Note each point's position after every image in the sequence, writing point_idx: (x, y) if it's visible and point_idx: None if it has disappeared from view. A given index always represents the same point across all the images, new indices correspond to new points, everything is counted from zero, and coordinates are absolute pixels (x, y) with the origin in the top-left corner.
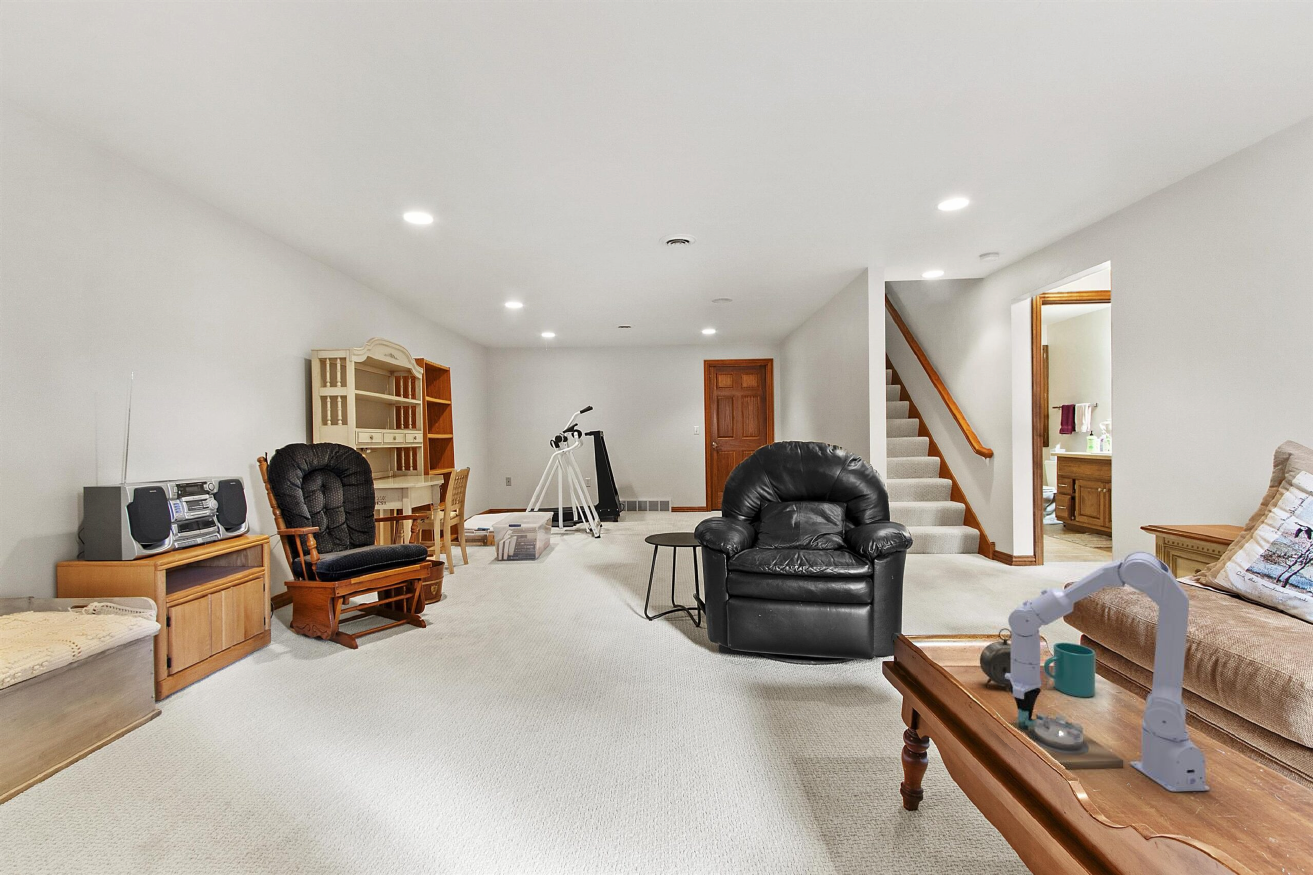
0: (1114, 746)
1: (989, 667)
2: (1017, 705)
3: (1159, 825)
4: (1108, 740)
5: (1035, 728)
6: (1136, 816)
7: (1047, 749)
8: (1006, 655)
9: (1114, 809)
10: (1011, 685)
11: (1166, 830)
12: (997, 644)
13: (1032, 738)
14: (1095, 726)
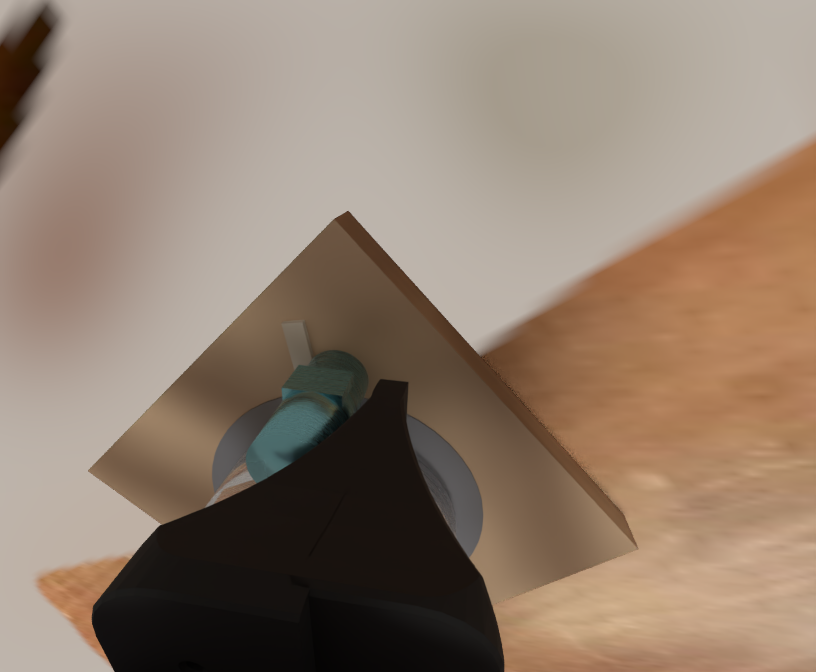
0: (525, 632)
1: None
2: (337, 433)
3: (95, 637)
4: (575, 625)
5: (237, 476)
6: (86, 610)
7: (211, 470)
8: None
9: (67, 578)
10: (212, 616)
11: (88, 642)
12: None
13: (265, 416)
14: (720, 609)
